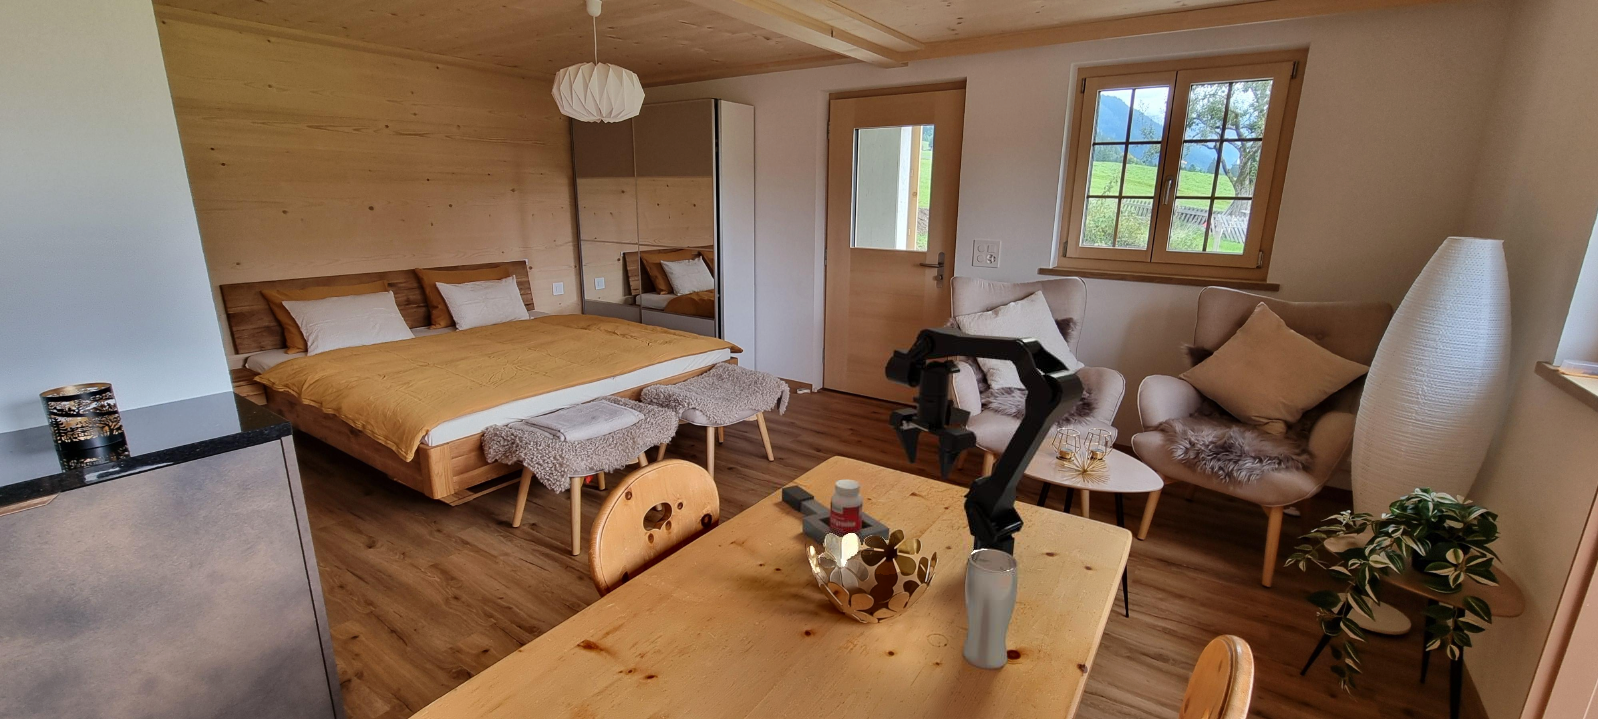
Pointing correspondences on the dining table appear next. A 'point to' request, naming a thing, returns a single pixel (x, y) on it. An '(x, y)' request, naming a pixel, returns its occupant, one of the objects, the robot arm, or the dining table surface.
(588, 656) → the dining table surface
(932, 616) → the dining table surface
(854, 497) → the pill bottle
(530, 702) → the dining table surface
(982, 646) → the beer glass
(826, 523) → the socket
